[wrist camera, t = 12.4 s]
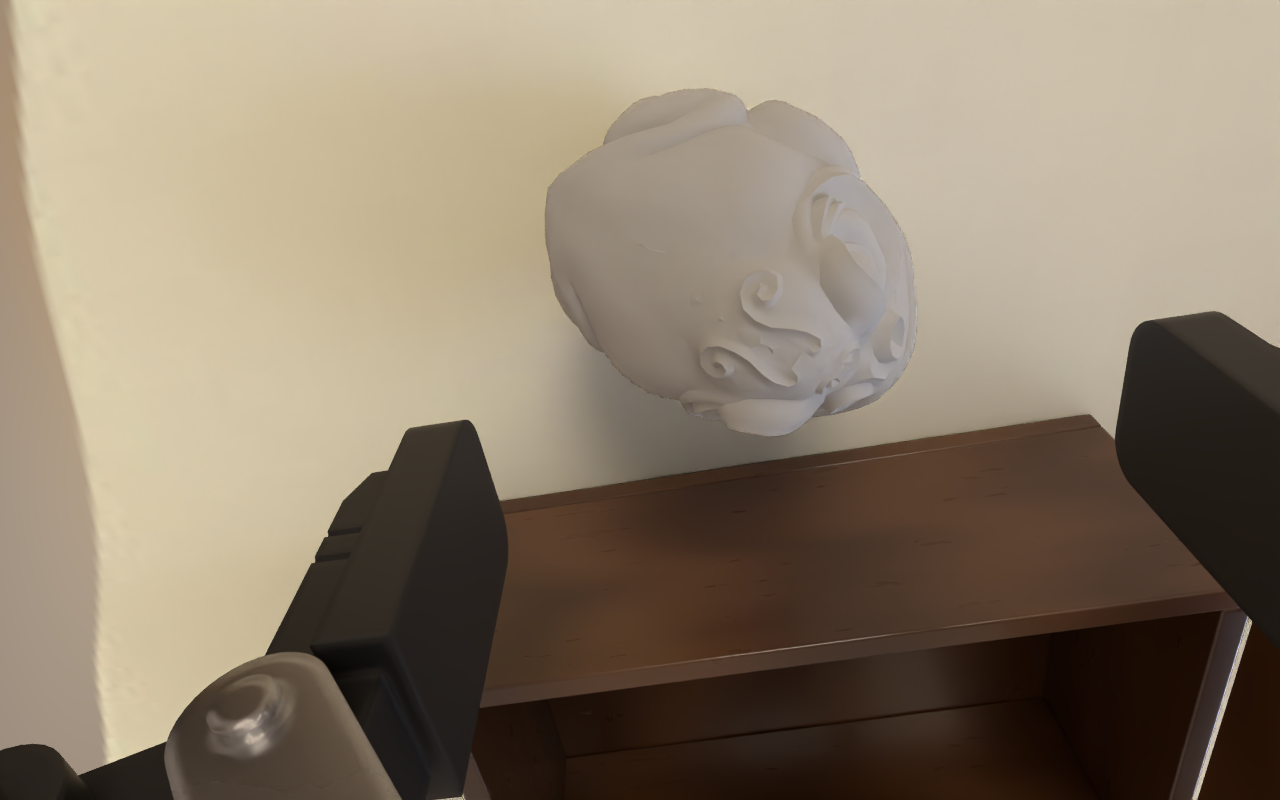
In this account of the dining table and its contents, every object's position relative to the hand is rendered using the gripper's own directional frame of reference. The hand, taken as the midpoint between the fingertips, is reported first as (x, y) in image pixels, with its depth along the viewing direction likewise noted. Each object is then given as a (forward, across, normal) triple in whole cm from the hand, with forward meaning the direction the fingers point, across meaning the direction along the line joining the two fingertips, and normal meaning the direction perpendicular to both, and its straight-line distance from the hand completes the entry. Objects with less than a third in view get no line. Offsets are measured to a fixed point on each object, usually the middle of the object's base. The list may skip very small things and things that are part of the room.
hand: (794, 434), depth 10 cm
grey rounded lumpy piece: (+10, 0, 0) cm, 10 cm away
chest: (+10, -1, +13) cm, 16 cm away
